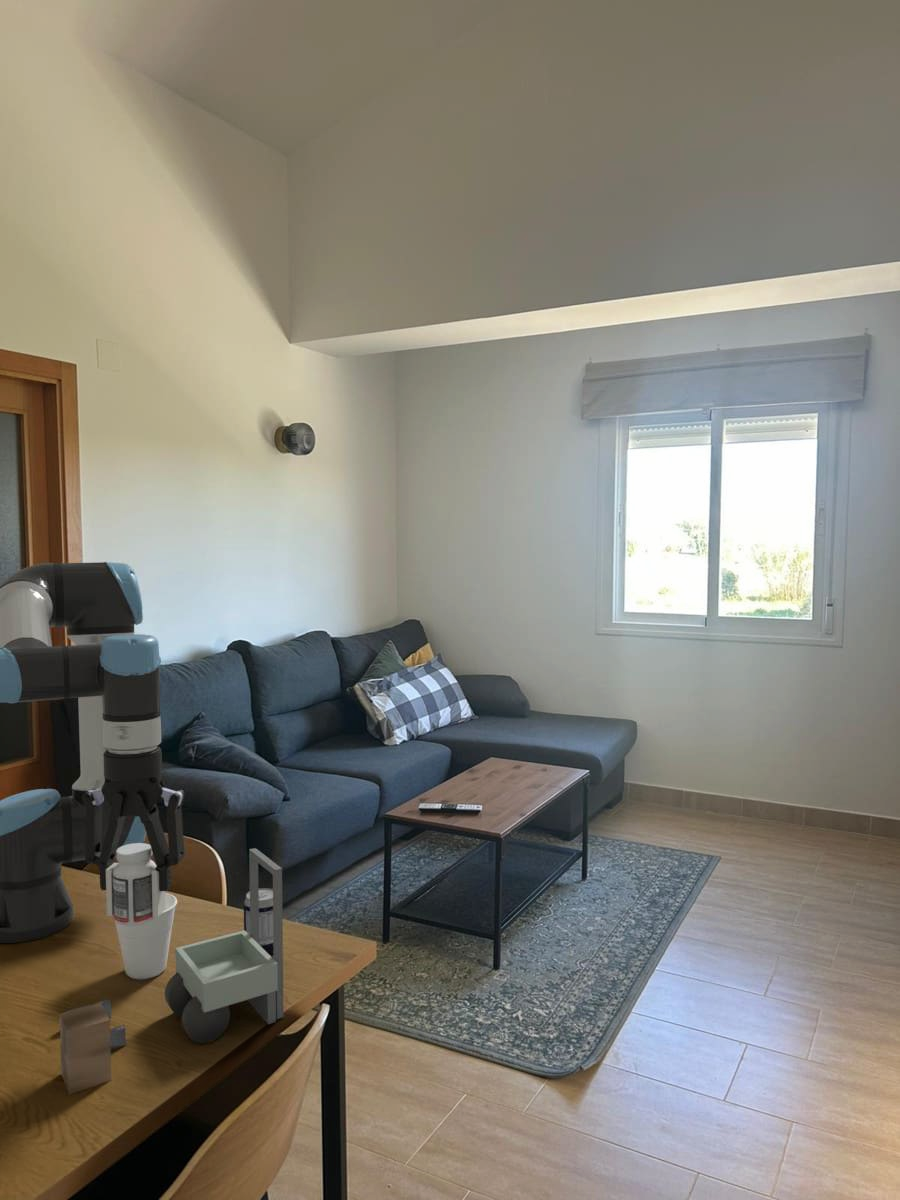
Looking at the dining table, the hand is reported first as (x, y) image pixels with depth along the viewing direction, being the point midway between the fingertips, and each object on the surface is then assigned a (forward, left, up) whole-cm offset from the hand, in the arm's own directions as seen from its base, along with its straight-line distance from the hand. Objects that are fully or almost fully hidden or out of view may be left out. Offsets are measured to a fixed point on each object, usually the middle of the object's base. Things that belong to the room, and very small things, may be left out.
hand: (136, 912), depth 122 cm
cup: (-17, +6, -17) cm, 25 cm away
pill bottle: (0, 0, -1) cm, 1 cm away
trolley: (+3, +12, -17) cm, 21 cm away
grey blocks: (-2, -5, -17) cm, 18 cm away
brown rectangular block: (+7, -8, -17) cm, 20 cm away
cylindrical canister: (-8, +22, -17) cm, 29 cm away
